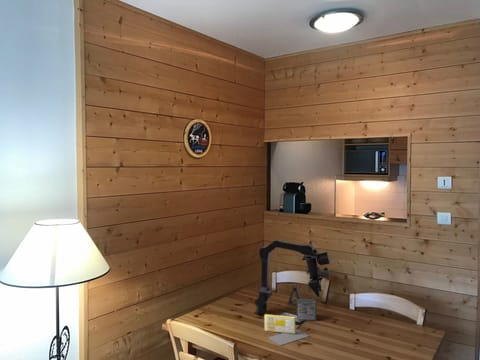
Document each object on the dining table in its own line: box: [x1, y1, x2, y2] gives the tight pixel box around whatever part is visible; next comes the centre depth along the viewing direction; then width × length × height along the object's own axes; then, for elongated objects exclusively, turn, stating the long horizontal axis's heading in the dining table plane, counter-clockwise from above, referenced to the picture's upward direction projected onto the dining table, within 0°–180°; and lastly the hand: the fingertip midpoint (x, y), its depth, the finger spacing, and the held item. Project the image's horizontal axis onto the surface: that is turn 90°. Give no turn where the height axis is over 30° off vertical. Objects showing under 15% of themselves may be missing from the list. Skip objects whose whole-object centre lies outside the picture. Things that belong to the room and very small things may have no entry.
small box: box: [296, 298, 317, 322], centre depth 217 cm, size 11×6×10 cm, turn 84°
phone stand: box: [287, 283, 303, 306], centre depth 241 cm, size 9×6×12 cm, turn 72°
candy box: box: [263, 314, 296, 334], centre depth 199 cm, size 16×2×8 cm, turn 71°
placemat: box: [267, 328, 310, 347], centre depth 193 cm, size 10×19×1 cm, turn 123°
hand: (319, 293), depth 213 cm, fingers open, 9 cm apart
